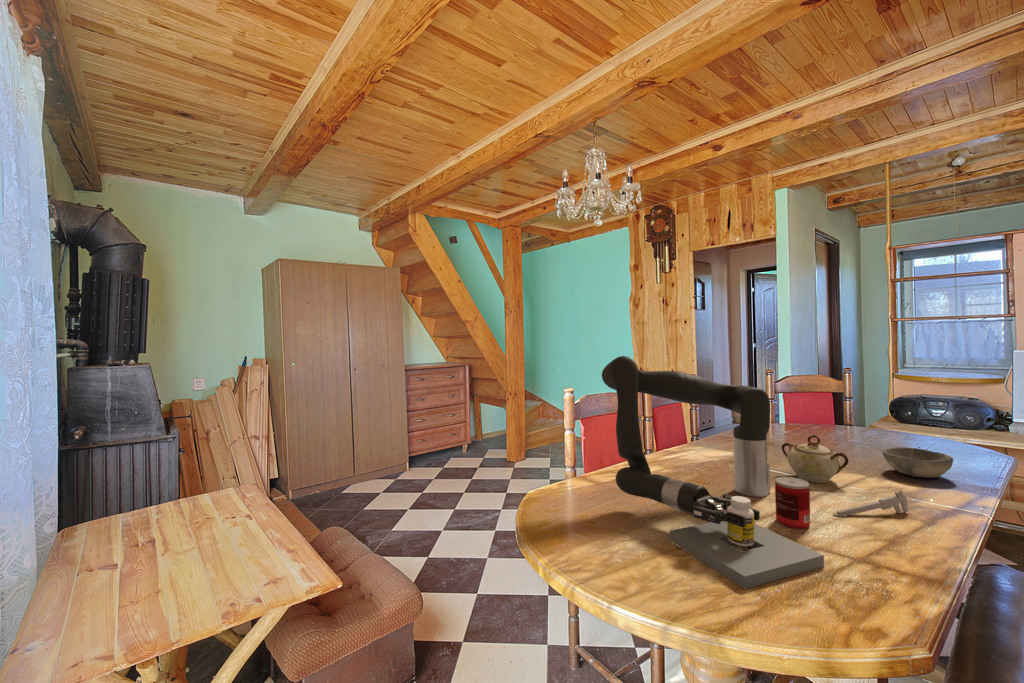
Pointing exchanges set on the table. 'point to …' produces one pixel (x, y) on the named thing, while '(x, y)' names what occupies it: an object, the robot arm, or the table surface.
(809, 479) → the sugar bowl
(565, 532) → the table surface
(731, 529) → the supplement bottle
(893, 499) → the caliper
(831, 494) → the table surface
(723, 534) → the socket board
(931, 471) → the bowl
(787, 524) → the canned food
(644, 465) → the robot arm
